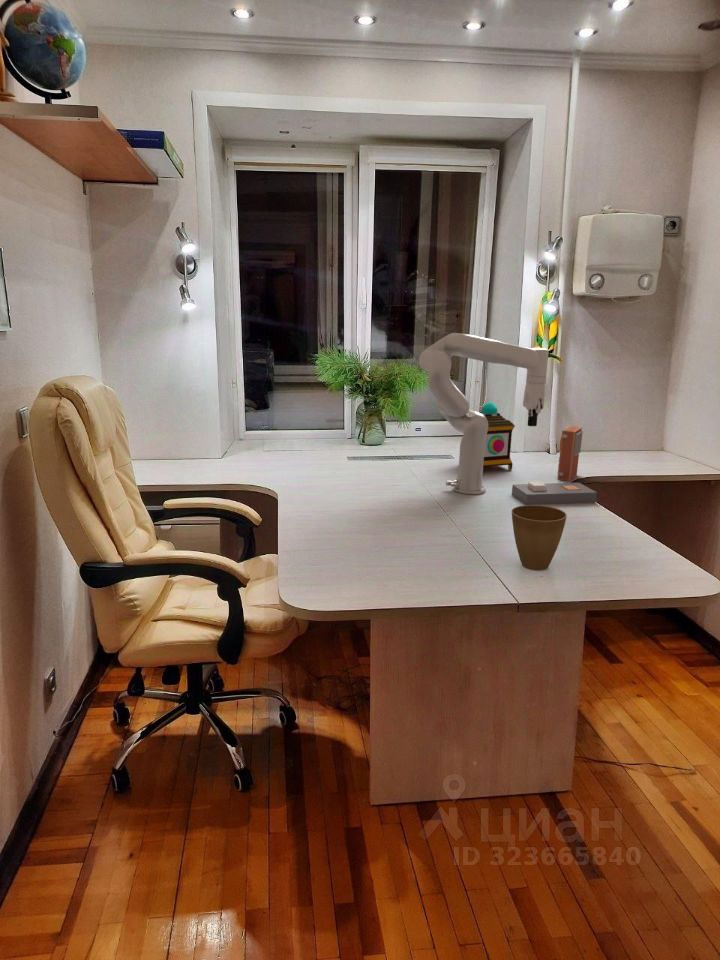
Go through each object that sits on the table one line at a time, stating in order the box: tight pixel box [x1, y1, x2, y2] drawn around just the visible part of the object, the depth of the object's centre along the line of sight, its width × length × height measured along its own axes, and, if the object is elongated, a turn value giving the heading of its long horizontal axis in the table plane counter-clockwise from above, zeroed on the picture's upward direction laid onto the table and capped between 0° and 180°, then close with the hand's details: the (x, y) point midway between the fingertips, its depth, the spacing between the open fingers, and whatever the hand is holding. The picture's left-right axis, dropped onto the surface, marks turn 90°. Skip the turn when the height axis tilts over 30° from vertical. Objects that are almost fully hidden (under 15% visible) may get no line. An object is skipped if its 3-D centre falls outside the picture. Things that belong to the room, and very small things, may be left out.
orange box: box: [556, 425, 584, 482], centre depth 282 cm, size 21×7×15 cm
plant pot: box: [511, 504, 568, 571], centre depth 185 cm, size 15×15×16 cm
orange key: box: [562, 486, 580, 490], centre depth 254 cm, size 5×5×3 cm
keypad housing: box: [511, 482, 598, 505], centre depth 253 cm, size 28×14×4 cm, turn 100°
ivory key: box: [527, 481, 546, 491], centre depth 251 cm, size 5×5×3 cm
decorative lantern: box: [478, 401, 516, 471], centre depth 295 cm, size 20×20×30 cm
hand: (532, 425), depth 263 cm, fingers closed
